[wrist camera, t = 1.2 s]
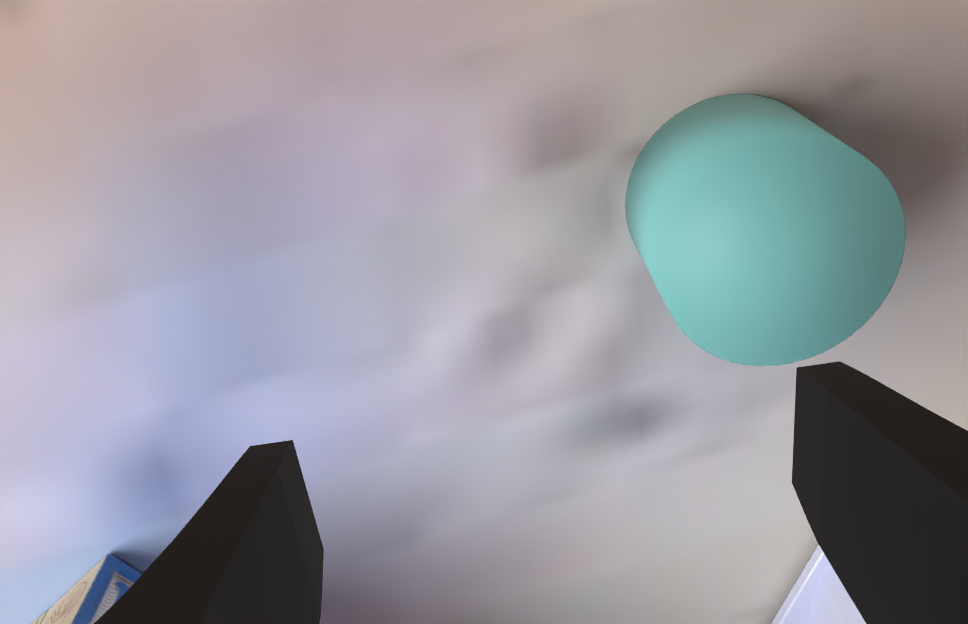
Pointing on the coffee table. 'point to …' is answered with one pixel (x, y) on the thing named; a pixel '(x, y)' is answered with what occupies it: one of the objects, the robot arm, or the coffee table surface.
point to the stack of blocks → (92, 593)
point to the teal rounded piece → (763, 230)
